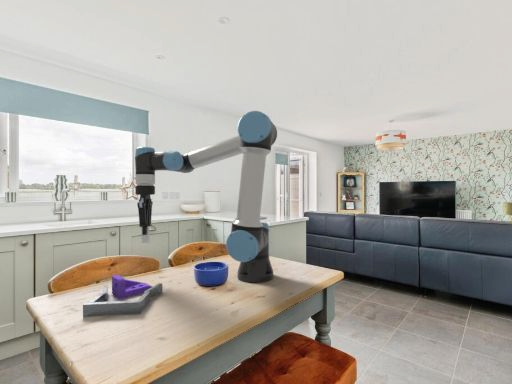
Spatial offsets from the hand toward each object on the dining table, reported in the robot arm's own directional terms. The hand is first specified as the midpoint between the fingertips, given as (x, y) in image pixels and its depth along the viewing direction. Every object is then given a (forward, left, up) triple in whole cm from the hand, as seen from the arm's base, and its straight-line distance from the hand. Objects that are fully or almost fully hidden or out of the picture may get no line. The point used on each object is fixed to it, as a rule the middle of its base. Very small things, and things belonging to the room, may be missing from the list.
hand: (145, 242), depth 115 cm
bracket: (0, +14, -16) cm, 22 cm away
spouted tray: (0, +24, -15) cm, 29 cm away
